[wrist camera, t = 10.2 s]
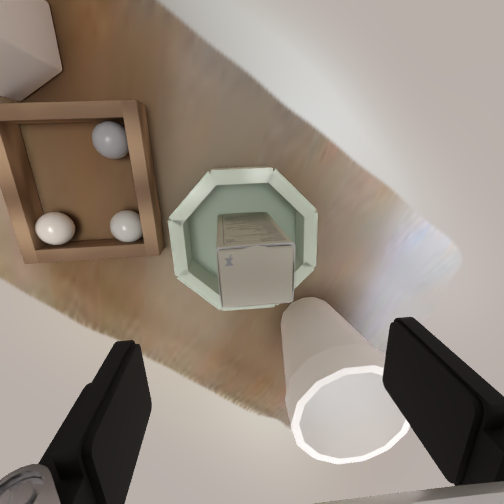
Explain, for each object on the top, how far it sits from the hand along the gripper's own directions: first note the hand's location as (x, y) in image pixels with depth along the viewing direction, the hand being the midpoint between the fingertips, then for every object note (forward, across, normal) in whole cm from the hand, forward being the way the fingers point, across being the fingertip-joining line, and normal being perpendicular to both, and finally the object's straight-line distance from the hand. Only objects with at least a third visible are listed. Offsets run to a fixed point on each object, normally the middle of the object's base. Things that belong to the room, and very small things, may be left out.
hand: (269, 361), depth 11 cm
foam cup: (+20, -7, +12) cm, 24 cm away
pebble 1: (+18, +17, 0) cm, 25 cm away
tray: (+20, +14, -5) cm, 25 cm away
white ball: (+20, +11, -1) cm, 22 cm away
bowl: (+20, 0, 0) cm, 20 cm away
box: (+19, 0, 0) cm, 19 cm away
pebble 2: (+20, +11, -9) cm, 24 cm away
